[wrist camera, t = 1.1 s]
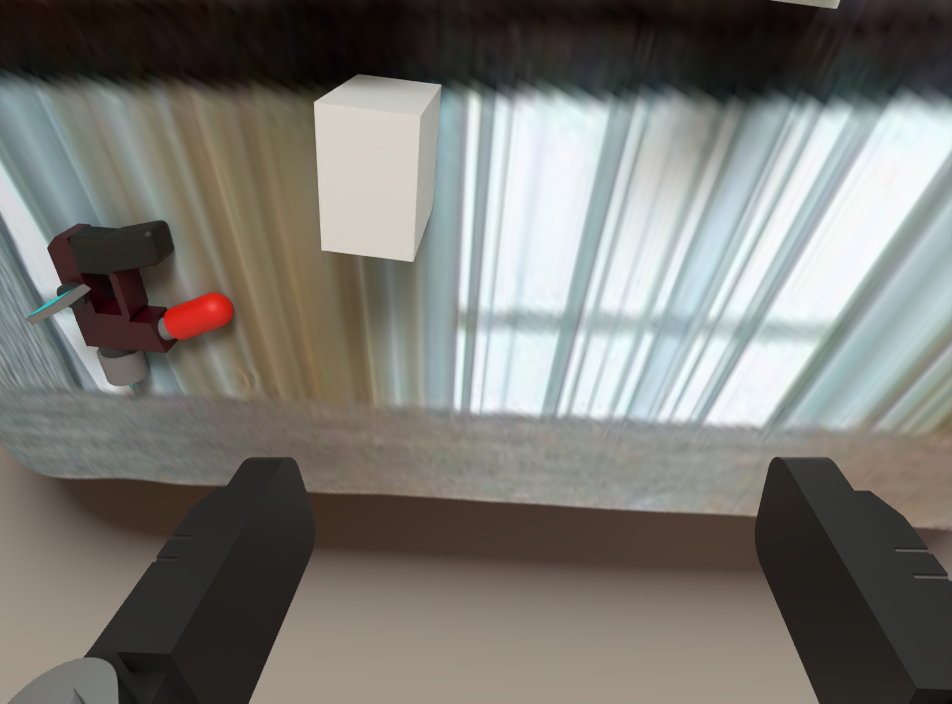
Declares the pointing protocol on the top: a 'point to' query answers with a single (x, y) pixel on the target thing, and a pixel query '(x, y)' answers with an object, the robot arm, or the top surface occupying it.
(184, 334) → the toy gun
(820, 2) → the board
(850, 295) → the top surface
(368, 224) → the block
